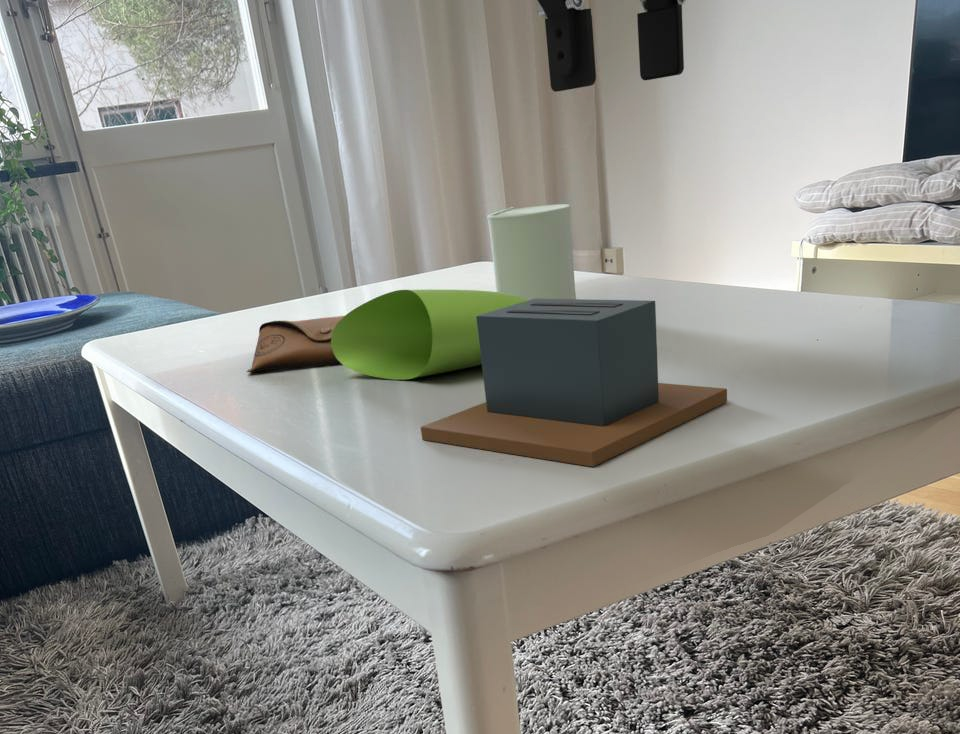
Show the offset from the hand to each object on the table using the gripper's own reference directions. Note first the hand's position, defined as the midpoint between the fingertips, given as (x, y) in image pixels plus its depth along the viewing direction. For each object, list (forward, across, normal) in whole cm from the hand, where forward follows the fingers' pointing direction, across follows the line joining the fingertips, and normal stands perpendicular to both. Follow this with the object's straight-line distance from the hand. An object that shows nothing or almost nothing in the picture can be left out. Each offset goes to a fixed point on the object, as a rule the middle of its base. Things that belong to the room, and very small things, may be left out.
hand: (619, 82), depth 64 cm
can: (+22, -27, -33) cm, 48 cm away
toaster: (+20, +5, -3) cm, 21 cm away
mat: (+21, +5, -2) cm, 22 cm away
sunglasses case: (+21, -5, -43) cm, 48 cm away
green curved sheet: (+21, -5, -25) cm, 33 cm away
